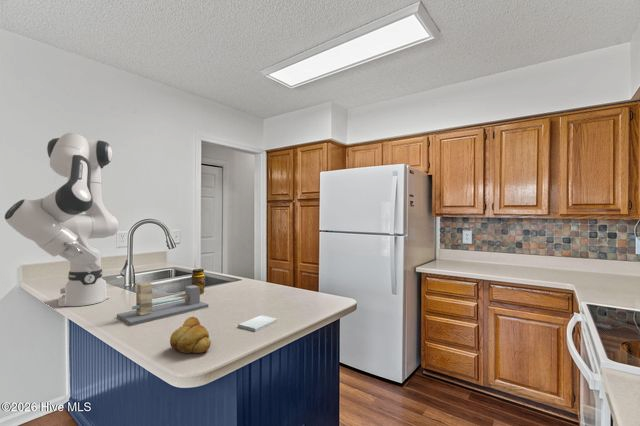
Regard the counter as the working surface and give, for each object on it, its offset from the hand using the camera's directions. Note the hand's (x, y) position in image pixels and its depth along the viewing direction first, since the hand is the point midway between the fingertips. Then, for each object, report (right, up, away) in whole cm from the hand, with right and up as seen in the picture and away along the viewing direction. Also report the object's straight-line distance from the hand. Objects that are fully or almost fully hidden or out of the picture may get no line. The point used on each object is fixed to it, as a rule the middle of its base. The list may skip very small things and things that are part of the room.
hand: (97, 269), depth 109 cm
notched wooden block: (+10, -19, +12) cm, 24 cm away
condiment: (+16, -21, +47) cm, 54 cm away
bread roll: (+39, -21, -16) cm, 47 cm away
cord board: (+15, -20, +18) cm, 31 cm away
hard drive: (+55, -22, +5) cm, 59 cm away
